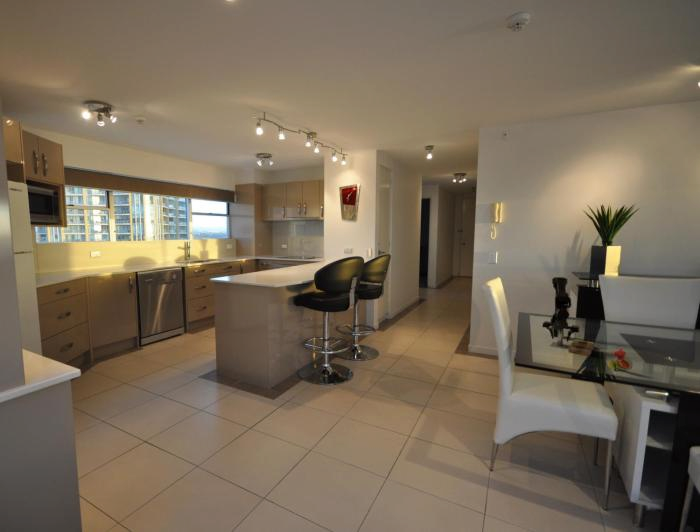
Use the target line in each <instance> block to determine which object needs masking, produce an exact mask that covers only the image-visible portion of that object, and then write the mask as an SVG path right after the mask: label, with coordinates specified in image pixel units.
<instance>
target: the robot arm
mask: <svg viewBox="0 0 700 532" xmlns="http://www.w3.org/2000/svg"><path fill="white" fill-rule="evenodd" d="M568 281H569V279H568V278H566V277H565V276H564V277H560V276H558V277H556V276H555V277H553V278H552V279H551V284H552V286H553V287H552V288H554V290H555V296H554V312H553V314H552V316H551V318H550V321H543V323H542V328H546V330H548V331H549V332H550V337H551V338H552V340H554V339H555V338H557V336H558V330H564V332H563V338H564V337H565V330H568V331H567V336H566V342H567V343H568V342H569V339H570V337H571V336H572V334H575V333H580V331H581V328H580V326H579V325H573V324H572V325H571V326H570V325H569V323H568V322H567V321H568V318H569V317H570V313H569V311H568V309H571V307H572V299H571V297H570V296H569V293H568V292H566V289H567V288H566V287H567V285H568Z"/></svg>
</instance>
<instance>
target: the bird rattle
mask: <svg viewBox="0 0 700 532" xmlns="http://www.w3.org/2000/svg"><path fill="white" fill-rule="evenodd" d="M626 355H627V352H626V351H624V350H623V349H622V348H620V349H618V350H615V351H614V352H613V357H616V358H614V360H613V361H612V360H609V361H608V365H609V369H610V368H611V369H610V370H614V369H616V370H617V368H618V369H619V370H621V369H622V370H621V371H623V370H626V371H628V372H629V371H630V370H632V369H633V367H634V366H633V361H632V360H630V358H628V357H627V356H626Z"/></svg>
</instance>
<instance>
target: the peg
mask: <svg viewBox="0 0 700 532" xmlns="http://www.w3.org/2000/svg"><path fill="white" fill-rule="evenodd" d="M563 332H564V333H565V329H564V330H558V336H557V337H556V342H557V346H563V344H564V337H563Z"/></svg>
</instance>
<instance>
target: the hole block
mask: <svg viewBox="0 0 700 532" xmlns="http://www.w3.org/2000/svg"><path fill="white" fill-rule="evenodd" d="M569 345H570V346H569V347H568V353H570V354H575V355H581V356H585V357H586V356H587V357H590V356H591V354H592V352H593V350H594V349H595V342H593V341H587V340H583V339H576V338H574V339H573V341H572V342H571V344H569Z"/></svg>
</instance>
